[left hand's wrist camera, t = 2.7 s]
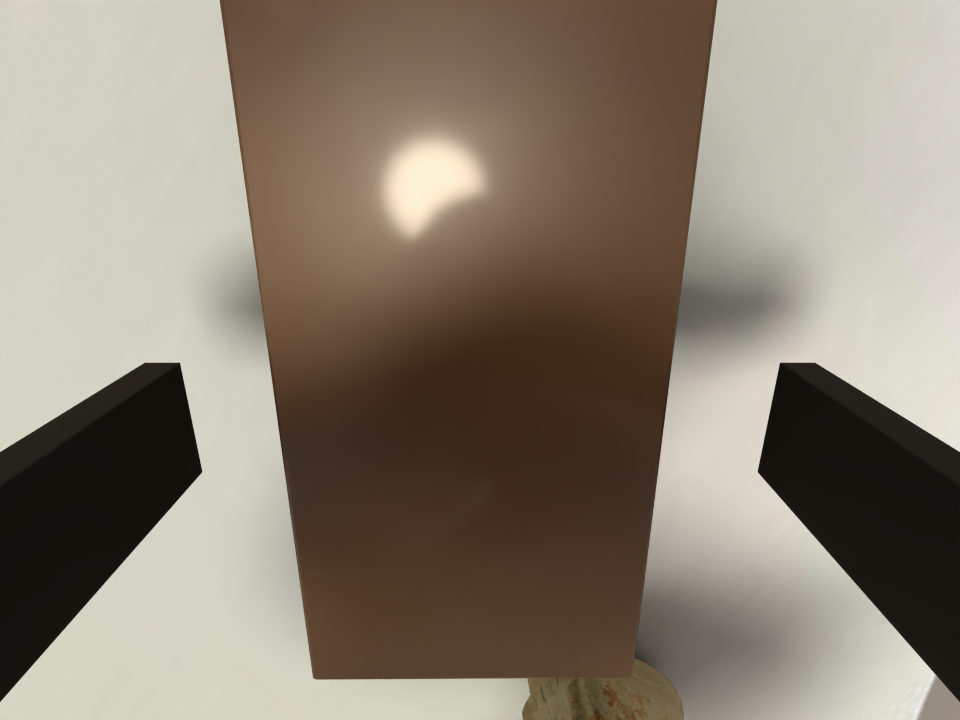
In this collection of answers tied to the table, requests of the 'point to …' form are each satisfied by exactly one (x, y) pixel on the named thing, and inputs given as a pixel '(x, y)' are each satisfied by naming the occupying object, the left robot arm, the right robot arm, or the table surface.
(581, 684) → the sculpture
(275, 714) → the table surface
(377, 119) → the box
